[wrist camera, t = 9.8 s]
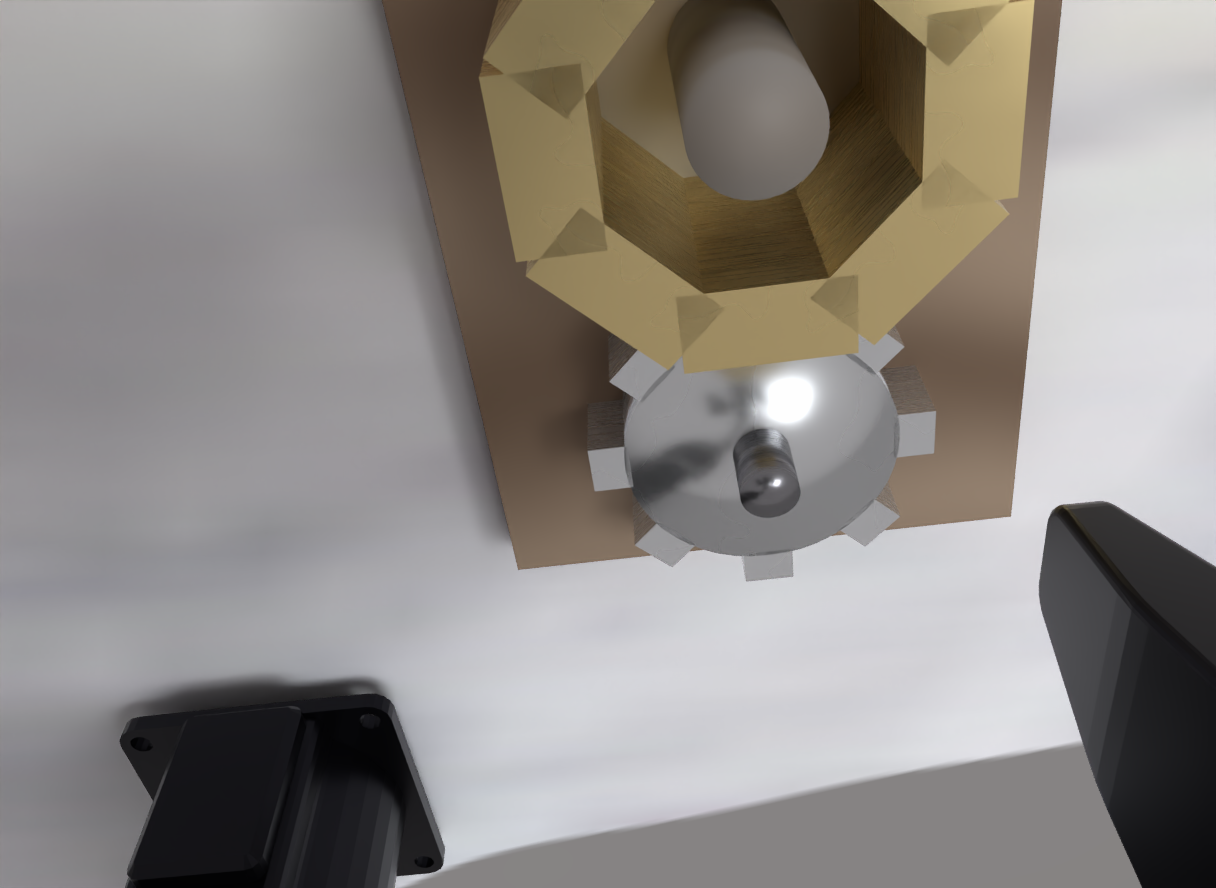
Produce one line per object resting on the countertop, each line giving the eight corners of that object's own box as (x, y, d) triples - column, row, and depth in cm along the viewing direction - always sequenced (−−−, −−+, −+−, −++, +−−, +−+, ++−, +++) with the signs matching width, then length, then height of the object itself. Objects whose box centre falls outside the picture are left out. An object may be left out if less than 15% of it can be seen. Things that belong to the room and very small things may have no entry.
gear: (910, 511, 22) (945, 606, 20) (611, 544, 23) (614, 640, 20) (919, 236, 19) (962, 314, 17) (566, 280, 19) (563, 362, 17)
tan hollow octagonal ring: (932, 214, 18) (1006, 335, 15) (550, 263, 19) (542, 391, 16) (949, -234, 15) (1051, -203, 11) (473, -160, 15) (441, -110, 12)
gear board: (993, 480, 23) (1078, 655, 19) (521, 532, 24) (507, 712, 20) (1120, -1014, 12) (1401, -1371, 8) (205, -834, 12) (17, -1073, 8)
